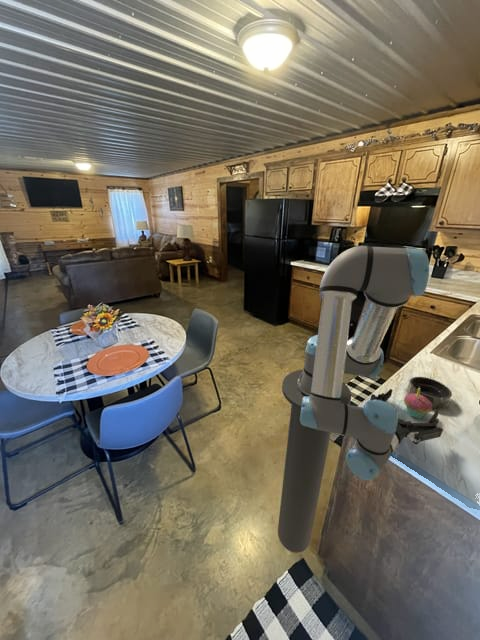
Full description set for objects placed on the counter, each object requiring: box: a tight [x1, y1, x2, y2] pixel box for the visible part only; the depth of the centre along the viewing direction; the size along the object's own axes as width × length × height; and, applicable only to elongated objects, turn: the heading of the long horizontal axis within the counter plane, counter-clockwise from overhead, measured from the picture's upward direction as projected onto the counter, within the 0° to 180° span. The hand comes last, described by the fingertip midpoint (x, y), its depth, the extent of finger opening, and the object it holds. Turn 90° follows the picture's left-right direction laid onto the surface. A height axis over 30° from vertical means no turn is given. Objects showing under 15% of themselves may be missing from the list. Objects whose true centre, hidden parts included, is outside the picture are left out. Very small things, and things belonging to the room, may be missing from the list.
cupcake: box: [403, 387, 433, 419], centre depth 92 cm, size 9×8×12 cm
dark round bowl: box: [406, 376, 453, 410], centre depth 101 cm, size 13×13×5 cm
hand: (412, 402), depth 86 cm, fingers open, 13 cm apart
